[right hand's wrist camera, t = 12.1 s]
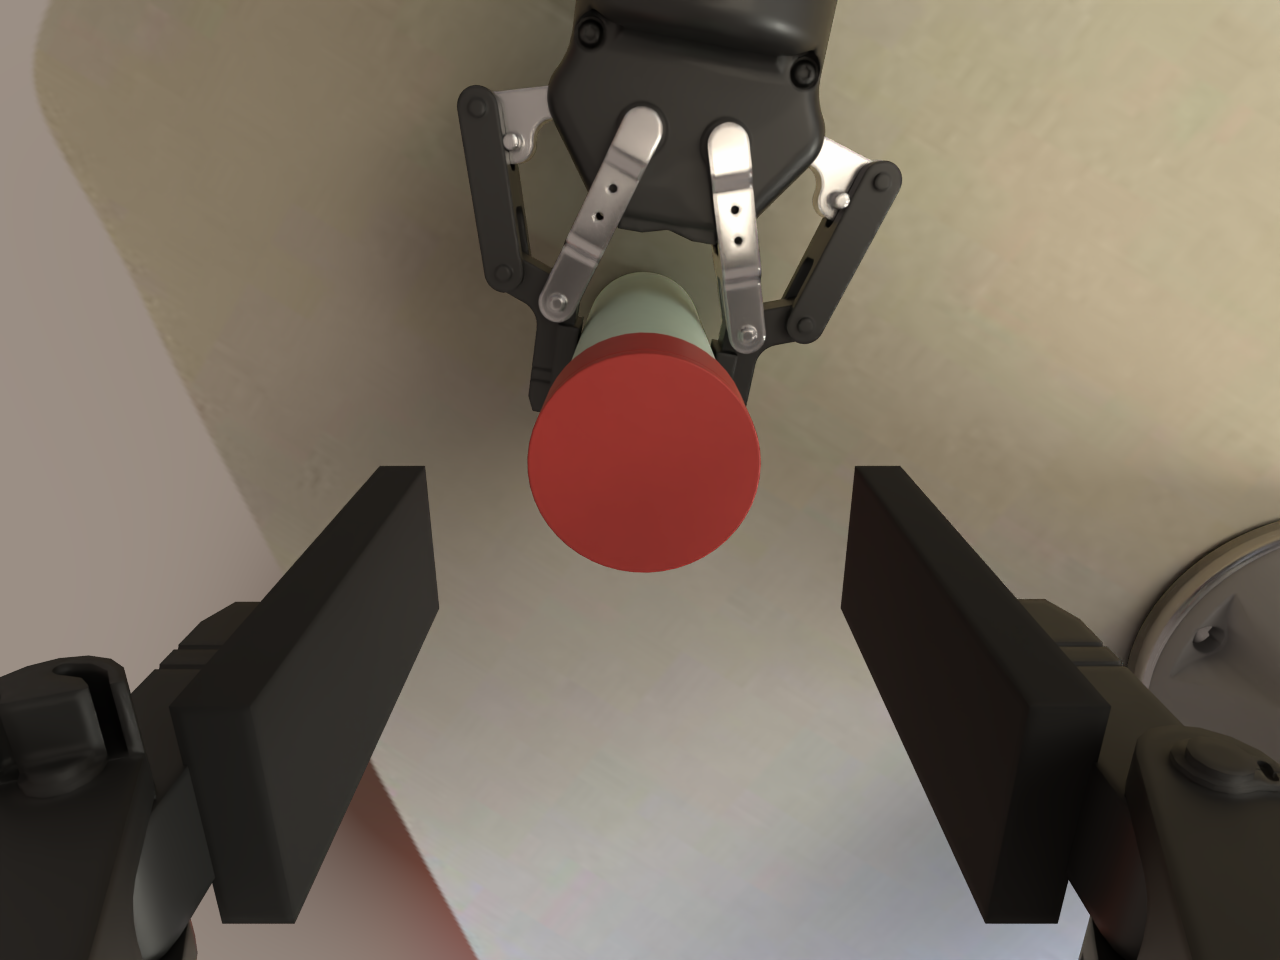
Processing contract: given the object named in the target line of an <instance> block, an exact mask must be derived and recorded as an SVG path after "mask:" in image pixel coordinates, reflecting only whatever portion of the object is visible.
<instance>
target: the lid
mask: <svg viewBox="0 0 1280 960" xmlns="http://www.w3.org/2000/svg"><path fill="white" fill-rule="evenodd" d="M527 460H528V477H529V483H530V488H531V491H532V494H533V497H534V500H535V503H536V505H537V507H538V509H539V511H540V513H541V515H542V516H543V518H544V520H545V521H546V523H547V524H548V526H549V527H550V528H551V529H552V530H553V532H554V533H555V534H556V535H557V536H558V537H559V538H560V539H561V540H562V541H563V542H564V543H565V544H566V545H567V546H569V547H570V548H572V549H573V550H574V551H576V552H577V553H579V554H580V555H582V556H584V557H586V558H587V559H589V560H591V561H593V562H596V563H598V564H601V565H603V566H606V567H610V568H613V569H617V570H622V571H629V572H659V571H666V570H670V569H675V568H679V567H682V566H685V565H687V564H690V563H692V562H695V561H697V560H699V559H701V558H703V557H705V556H706V555H708V554H709V553H711V552H712V551H714V550H715V549H717V548H718V547H719V546H720V545H721V544H723V543H724V542H725V541H726V540H727V539H728V538H729V537H730V536H731V535H732V534H733V533H734V532H735V531H736V530H737V528H738V527H739V525H740V524H741V523H742V521H743V520H744V518H745V517H746V515H747V513H748V511H749V509H750V507H751V505H752V503H753V500H754V497H755V495H756V492H757V488H758V483H759V479H760V468H761V458H760V447H759V442H758V437H757V433H756V430H755V428H754V425H753V422H752V419H751V417H750V415H749V413H748V410H747V408H746V406H745V404H744V401H743V399H742V397H741V394H740V392H739V391H738V389H737V387H736V385H735V383H734V381H733V380H732V378H731V377H730V375H729V374H728V373H727V371H726V370H725V369H724V368H723V367H722V366H721V365H720V364H719V362H718V361H717V360H715V359H714V358H713V357H712V356H710V355H709V354H708V353H707V352H705V351H704V350H702V349H700V348H699V347H697V346H696V345H694V344H692V343H689V342H687V341H685V340H683V339H680V338H676V337H673V336H670V335H665V334H659V333H644V332H639V333H629V334H623V335H619V336H615V337H611V338H608V339H606V340H603V341H601V342H598V343H596V344H594V345H593V346H591V347H589V348H587V349H586V350H584V351H583V352H581V353H580V354H579V355H577V356H576V357H575V358H574V359H573V360H572V361H571V362H570V363H569V364H567V365H566V366H565V368H564V369H563V370H562V371H561V373H560V374H559V375H558V376H557V378H556V380H555V381H554V383H553V385H552V386H551V388H550V390H549V392H548V395H547V397H546V399H545V402H544V404H543V406H542V409H541V411H540V413H539V416H538V418H537V420H536V423H535V425H534V428H533V431H532V434H531V438H530V442H529V449H528V457H527Z"/></svg>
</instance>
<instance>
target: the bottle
mask: <svg viewBox="0 0 1280 960" xmlns="http://www.w3.org/2000/svg"><path fill="white" fill-rule="evenodd" d="M639 332H644V333H659V334H665V335H670V336H673V337H676V338H680V339H683V340H685V341H687V342H689V343H692V344H694V345H696V346H697V347H699V348H700V349H702V350H704V351H705V352H707V353H708V354H709V355H710V356H712V357H713V358H714V359H715V357H714V355H713V352H712V349H711V347H710V344H709V342H708V339H707V337H706V334H705V331H704V329H703V326H702V324H701V321H700V319H699V316H698V314H697V311H696V308H695V306H694V304H693V302H692V300H691V298H690V297H689V295H688V294H687V292H686V291H685V290H684V289H683V288H682V287H681V286H680V285H679V284H677V283H676V282H675V281H673V280H671V279H670V278H668V277H665V276H663V275H660V274H657V273H651V272H635V273H630V274H626V275H624V276H621V277H619V278H617V279H615V280H614V281H612V282H611V283H610V284H608V285H607V286H606V287H605V288H604V289H603V290H602V291H601V292H600V294H599V295H598V296H597V298H596V300H595V301H594V303H593V305H592V308H591V310H590V313H589V316H588V318H587V321H586V324H585V326H584V329H583V331H582V334H581V337H580V339H579V342H578V345H577V347H576V350H575V353H574V355H573V358H572V360H573V359H574V358H575V357H576V356H577V355H579V354H580V353H581V352H583V351H584V350H586V349H587V348H589V347H591V346H593V345H594V344H596V343H598V342H601V341H603V340H606V339H608V338H611V337H615V336H619V335H623V334H629V333H639Z"/></svg>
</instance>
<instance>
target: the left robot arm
mask: <svg viewBox="0 0 1280 960" xmlns="http://www.w3.org/2000/svg"><path fill="white" fill-rule="evenodd" d="M836 4H837V0H576V6H575V14H574V22H573V30H572V36H571V40H570V44H569V47H568V49H567V52H566V54H565V56H564V58H563V60H562V61H561V63H560V64H559V66H558V67H557V68H556V70H555V71H554V73H553V75H552V77H551V79H550V82H549V85H548V86H539V87H531V88H522V89H513V90H504V91H491V90H489V89H487V88H485V87H483V86H480V85H473V86H469V87H467V88H466V89H464V90H463V91H462V93H461V94H460V96H459V98H458V102H457V110H458V116H459V122H460V129H461V135H462V141H463V147H464V153H465V159H466V165H467V171H468V177H469V183H470V189H471V195H472V201H473V207H474V213H475V219H476V225H477V231H478V237H479V243H480V249H481V255H482V261H483V267H484V273H485V278H486V280H487V282H488V284H489V285H490V286H491V287H492V288H493V289H494V290H496V291H499V292H503V293H504V292H506V293H508V294H510V295H512V296H513V297H515V298H517V299H519V300H521V301H522V302H524V303H526V304H527V305H528V306H529V307H530V308H531V309H532V310H533V312H534V314H535V316H536V320H537V331H536V339H535V347H534V355H533V364H532V372H531V380H530V388H529V399H530V403H531V407H532V410H533V411H537V412H540V411H541V409H542V406H543V404H544V402H545V399H546V397H547V395H548V392H549V390H550V388H551V386H552V385H553V383H554V381H555V380H556V378H557V376H558V375H559V374H560V373H561V371H562V370H563V369H564V368H565V366H566V365H567V364H569V363H570V362H571V361H572V358H573V355H574V353H575V350H576V347H577V345H578V342H579V339H580V337H581V332H582V325H583V318H584V317H579V316H578V312H579V304H580V300H581V298H582V296H583V294H584V292H585V290H586V288H587V286H588V284H589V282H590V280H591V278H592V276H593V274H594V272H595V270H596V268H597V266H598V264H599V262H600V260H601V258H602V256H603V254H604V252H605V250H606V248H607V246H608V244H609V242H610V240H611V238H612V236H613V234H614V232H615V230H616V228H617V226H618V228H620V229H626V230H632V231H637V232H650V231H660V230H670V231H672V232H674V233H676V234H678V235H680V236H682V237H685V238H687V239H689V240H691V241H695V242H701V243H706V244H711V248H712V256H713V263H714V270H715V274H716V280H717V288H718V296H719V304H720V313H721V321H722V324H721V329H720V334H719V339H718V340H713V339H712V341H711V346H710V347H711V349H712V352H713V355H714V357H715V360H717V361H718V362H719V364H720V365H721V366H722V367H723V368H724V369H725V370H726V371H727V373H728V374H729V375H730V377H731V378H732V380H733V381H734V383H735V385H736V387H737V389H738V391H739V392H740V394H741V397H742V399H743V401H744V404H745V406H746V405H747V400H748V396H749V391H750V386H751V382H752V377H753V373H754V368H755V364H756V361H757V359H758V357H759V355H760V354H761V353H762V352H763V351H764V350H765V349H767V348H769V347H771V346H774V345H779V344H784V343H790V342H797V343H800V344H808V343H812V342H814V341H815V340H817V339H818V338H819V337H820V336H821V334H822V332H823V331H824V329H825V327H826V325H827V323H828V321H829V319H830V318H831V316H832V314H833V312H834V310H835V308H836V307H837V305H838V303H839V301H840V299H841V297H842V295H843V294H844V292H845V290H846V288H847V286H848V284H849V283H850V281H851V279H852V277H853V275H854V273H855V271H856V270H857V268H858V266H859V264H860V262H861V260H862V259H863V257H864V255H865V253H866V251H867V249H868V247H869V246H870V244H871V242H872V240H873V238H874V236H875V235H876V233H877V231H878V229H879V227H880V225H881V223H882V222H883V220H884V218H885V216H886V214H887V212H888V211H889V209H890V207H891V205H892V203H893V201H894V199H895V198H896V196H897V194H898V192H899V190H900V188H901V184H902V175H901V172H900V170H899V168H898V167H897V166H896V165H895V164H894V163H892V162H889V161H882V160H870V159H868V158H866V157H864V156H862V155H860V154H858V153H856V152H854V151H852V150H850V149H848V148H847V147H845V146H843V145H841V144H839V143H837V142H835V141H833V140H831V139H829V138H827V137H825V124H824V120H823V116H822V113H821V108H820V102H819V84H820V77H821V73H822V68H823V63H824V59H825V54H826V49H827V45H828V40H829V36H830V31H831V27H832V22H833V18H834V13H835V9H836ZM549 121H554V123H555V125H556V127H557V129H558V131H559V133H560V136H561V138H562V140H563V142H564V144H565V146H566V148H567V150H568V152H569V154H570V156H571V158H572V160H573V162H574V164H575V166H576V168H577V170H578V172H579V174H580V176H581V178H582V180H583V182H584V184H585V187H586V189H587V191H588V194H587V196H586V198H585V201H584V203H583V205H582V207H581V209H580V211H579V213H578V215H577V217H576V219H575V221H574V223H573V226H572V228H571V230H570V232H569V234H568V236H567V238H566V241H565V243H564V246H563V248H562V250H561V252H560V254H559V257H558V259H557V261H556V263H555V265H554V267H553V269H552V268H551V267H549V266H547V265H545V264H544V263H542V262H540V261H538V260H537V259H535V258H533V257H531V251H530V244H529V237H528V230H527V223H526V216H525V209H524V202H523V196H522V189H521V182H520V175H519V168H518V164H522V163H525V162H527V161H529V160H530V159H531V158H532V157H533V156H534V154H535V152H536V148H537V135H538V132H539V130H540V129H541V127H542V126H543V125H544V124H546V123H547V122H549ZM808 167H809V168H810V169H811V170H812V172H813V173H814V175H815V178H816V188H815V192H814V195H813V207H814V209H815V211H816V213H817V214H818V215H819V216H821V217H823V219H822V221H821V223H820V225H819V227H818V228H817V230H816V232H815V234H814V236H813V238H812V240H811V242H810V244H809V246H808V248H807V250H806V252H805V254H804V256H803V258H802V259H801V261H800V263H799V265H798V267H797V269H796V271H795V273H794V275H793V277H792V279H791V281H790V283H789V285H788V287H787V289H786V290H785V292H784V294H783V296H782V298H781V300H776V301H770V302H765V303H763V299H762V290H761V261H760V251H759V241H758V232H757V222H756V218H757V217H758V216H759V215H761V214H762V213H763V212H764V211H765V210H766V209H767V208H768V207H769V206H770V205H771V204H772V203H773V202H774V201H775V200H776V199H777V198H778V197H779V196H780V195H781V194H782V193H783V192H784V191H785V190H786V189H787V188H788V187H789V186H790V185H791V184H792V183H793V182H794V181H795V180H796V179H797V178H798V177H799V176H800V175H801V174H802V173H803V172H804V171H805V170H806V169H807V168H808Z"/></svg>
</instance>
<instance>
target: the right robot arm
mask: <svg viewBox="0 0 1280 960" xmlns="http://www.w3.org/2000/svg"><path fill="white" fill-rule="evenodd" d="M438 610H439V601H438V591H437V581H436V571H435V561H434V551H433V541H432V531H431V522H430V512H429V502H428V492H427V482H426V472H425V466H380V467H379V468H378V469H377V470H376V471H375V472H374V473H373V475H372V476H371V477H370V478H369V479H368V480H367V481H366V482H365V484H364V485H363V486H362V487H361V488H360V489H359V490H358V492H357V493H356V494H355V495H354V496H353V497H352V498H351V500H350V501H349V502H348V503H347V504H346V505H345V506H344V507H343V509H342V510H341V511H340V512H339V513H338V514H337V515H336V517H335V518H334V519H333V520H332V521H331V522H330V523H329V525H328V526H327V527H326V528H325V529H324V530H323V531H322V533H321V534H320V535H319V536H318V537H317V538H316V539H315V540H314V542H313V543H312V544H311V545H310V546H309V547H308V548H307V550H306V551H305V552H304V553H303V554H302V555H301V556H300V558H299V559H298V560H297V561H296V562H295V563H294V564H293V566H292V567H291V568H290V569H289V570H288V571H287V572H286V573H285V575H284V576H283V577H282V578H281V579H280V580H279V582H278V583H277V584H276V585H275V586H274V587H273V588H272V589H271V591H270V592H269V593H268V594H267V595H266V596H265V597H264V599H263V600H262V601H261V602H235V603H233V604H231V605H229V606H228V607H226V608H224V609H222V610H221V611H219V612H217V613H215V614H214V615H212V616H210V617H208V618H207V619H205V620H203V621H201V622H200V623H199V624H198V625H197V626H196V627H195V628H194V630H192V632H191V633H190V634H189V635H188V636H187V637H186V638H185V639H184V640H183V641H182V642H181V643H180V644H179V647H178V650H173V651H172V652H171V653H170V654H169V655H168V656H167V657H166V658H165V659H164V660H163V661H162V662H161V664H160V668H159V669H155V670H154V671H153V672H152V673H151V674H150V675H149V676H148V677H147V678H146V679H145V680H144V681H143V682H142V683H141V684H140V685H139V686H138V687H137V688H136V689H135V690H134V691H133V692H132V693H130V689H129V685H128V682H127V678H126V674H125V670H124V667H122V666H121V665H119V664H118V663H116V662H115V661H113V660H112V659H109V658H101V657H95V656H78V657H67V658H58V659H54V660H50V661H46V662H42V663H38V664H34V665H30V666H27V667H24V668H22V669H19V670H17V671H14V672H12V673H9V674H7V675H4V676H2V677H0V960H197V946H196V939H195V934H194V930H193V926H192V922H191V917H192V915H193V914H194V912H195V910H196V909H197V907H198V905H199V904H200V902H201V900H202V899H203V897H204V895H205V894H206V892H207V890H208V889H209V887H210V885H211V884H213V888H214V892H215V896H216V900H217V904H218V908H219V912H220V916H221V920H222V923H223V924H294V923H295V921H296V919H297V917H298V915H299V913H300V911H301V908H302V906H303V904H304V902H305V900H306V898H307V895H308V893H309V891H310V889H311V887H312V884H313V882H314V880H315V878H316V876H317V874H318V871H319V869H320V867H321V865H322V863H323V861H324V858H325V856H326V854H327V852H328V850H329V847H330V845H331V843H332V841H333V839H334V836H335V834H336V832H337V830H338V828H339V826H340V823H341V821H342V819H343V817H344V815H345V813H346V810H347V808H348V806H349V804H350V802H351V799H352V797H353V795H354V793H355V791H356V788H357V786H358V784H359V782H360V780H361V778H362V775H363V773H364V771H365V769H366V767H367V765H368V762H369V760H370V758H371V756H372V754H373V751H374V749H375V747H376V745H377V743H378V741H379V738H380V736H381V734H382V732H383V730H384V727H385V725H386V723H387V721H388V719H389V717H390V714H391V712H392V710H393V708H394V706H395V703H396V701H397V699H398V697H399V695H400V693H401V690H402V688H403V686H404V684H405V682H406V679H407V677H408V675H409V673H410V671H411V669H412V666H413V664H414V662H415V660H416V658H417V655H418V653H419V651H420V649H421V647H422V645H423V642H424V640H425V638H426V636H427V634H428V631H429V629H430V627H431V625H432V623H433V621H434V618H435V616H436V614H437V612H438ZM841 610H842V612H843V614H844V616H845V618H846V621H847V623H848V625H849V627H850V629H851V631H852V634H853V636H854V638H855V640H856V642H857V645H858V647H859V649H860V651H861V653H862V655H863V658H864V660H865V662H866V664H867V666H868V669H869V671H870V673H871V675H872V677H873V679H874V682H875V684H876V686H877V688H878V690H879V693H880V695H881V697H882V699H883V701H884V703H885V706H886V708H887V710H888V712H889V714H890V717H891V719H892V721H893V723H894V725H895V727H896V730H897V732H898V734H899V736H900V738H901V741H902V743H903V745H904V747H905V749H906V751H907V754H908V756H909V758H910V760H911V762H912V765H913V767H914V769H915V771H916V773H917V775H918V778H919V780H920V782H921V784H922V786H923V789H924V791H925V793H926V795H927V797H928V799H929V802H930V804H931V806H932V808H933V810H934V813H935V815H936V817H937V819H938V821H939V823H940V826H941V828H942V830H943V832H944V834H945V837H946V839H947V841H948V843H949V845H950V847H951V850H952V852H953V854H954V856H955V858H956V861H957V863H958V865H959V867H960V869H961V871H962V874H963V876H964V878H965V880H966V882H967V885H968V887H969V889H970V891H971V893H972V895H973V898H974V900H975V902H976V904H977V906H978V908H979V911H980V913H981V915H982V917H983V919H984V922H985V924H1058V920H1059V916H1060V912H1061V908H1062V904H1063V900H1064V896H1065V892H1066V888H1067V884H1068V880H1069V881H1070V883H1071V884H1072V886H1073V888H1074V889H1075V891H1076V893H1077V894H1078V896H1079V898H1080V899H1081V901H1082V903H1083V904H1084V906H1085V908H1086V909H1087V911H1088V912H1089V914H1090V918H1089V922H1088V926H1087V930H1086V934H1085V937H1084V941H1083V945H1082V949H1081V952H1080V956H1079V960H1280V521H1277V522H1274V523H1270V524H1268V525H1265V526H1262V527H1259V528H1257V529H1254V530H1252V531H1249V532H1247V533H1245V534H1243V535H1241V536H1238V537H1236V538H1234V539H1233V540H1231V541H1229V542H1227V543H1225V544H1224V545H1222V546H1220V547H1218V548H1217V549H1215V550H1214V551H1212V552H1211V553H1209V554H1208V555H1206V556H1205V557H1203V558H1202V559H1201V560H1199V561H1198V562H1197V563H1195V564H1194V565H1193V566H1192V567H1190V568H1189V569H1188V570H1187V571H1186V572H1185V573H1184V574H1182V575H1181V576H1180V577H1179V578H1178V579H1177V580H1176V581H1175V582H1174V583H1173V584H1172V585H1171V586H1170V587H1169V588H1168V589H1167V590H1166V592H1165V593H1164V594H1163V595H1162V597H1161V598H1160V599H1159V600H1158V601H1157V603H1156V604H1155V606H1154V607H1153V608H1152V610H1151V611H1150V613H1149V614H1148V616H1147V617H1146V619H1145V621H1144V623H1143V625H1142V626H1141V628H1140V630H1139V632H1138V634H1137V637H1136V639H1135V641H1134V644H1133V647H1132V650H1131V653H1130V656H1129V660H1128V665H1127V667H1126V666H1122V665H1121V661H1120V660H1119V659H1118V658H1117V657H1116V656H1115V655H1114V654H1113V653H1112V651H1111V650H1110V649H1109V648H1108V647H1103V646H1102V641H1101V640H1100V639H1099V638H1098V637H1097V636H1096V635H1095V634H1094V633H1093V632H1092V631H1091V630H1090V629H1089V628H1088V627H1087V626H1086V625H1085V624H1084V623H1083V622H1082V621H1081V620H1080V619H1079V618H1077V617H1075V616H1074V615H1072V614H1070V613H1068V612H1067V611H1065V610H1063V609H1061V608H1060V607H1058V606H1056V605H1054V604H1053V603H1051V602H1049V601H1047V600H1046V599H1016V597H1015V596H1014V595H1013V594H1012V593H1011V592H1010V591H1009V589H1008V588H1007V587H1006V586H1005V585H1004V584H1003V583H1002V581H1001V580H1000V579H999V578H998V577H997V576H996V575H995V573H994V572H993V571H992V570H991V569H990V568H989V567H988V566H987V564H986V563H985V562H984V561H983V560H982V559H981V558H980V556H979V555H978V554H977V553H976V552H975V551H974V550H973V548H972V547H971V546H970V545H969V544H968V543H967V542H966V540H965V539H964V538H963V537H962V536H961V535H960V534H959V533H958V531H957V530H956V529H955V528H954V527H953V526H952V525H951V523H950V522H949V521H948V520H947V519H946V518H945V517H944V515H943V514H942V513H941V512H940V511H939V510H938V509H937V507H936V506H935V505H934V504H933V503H932V502H931V501H930V500H929V498H928V497H927V496H926V495H925V494H924V493H923V492H922V490H921V489H920V488H919V487H918V486H917V485H916V484H915V482H914V481H913V480H912V479H911V478H910V477H909V476H908V475H907V473H906V472H905V471H904V470H903V469H902V468H901V467H900V466H855V472H854V482H853V492H852V502H851V512H850V522H849V531H848V541H847V551H846V561H845V571H844V581H843V591H842V601H841Z"/></svg>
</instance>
